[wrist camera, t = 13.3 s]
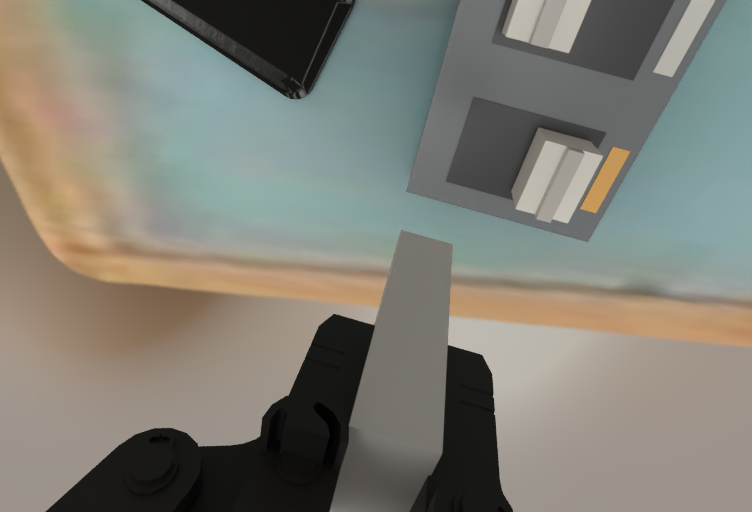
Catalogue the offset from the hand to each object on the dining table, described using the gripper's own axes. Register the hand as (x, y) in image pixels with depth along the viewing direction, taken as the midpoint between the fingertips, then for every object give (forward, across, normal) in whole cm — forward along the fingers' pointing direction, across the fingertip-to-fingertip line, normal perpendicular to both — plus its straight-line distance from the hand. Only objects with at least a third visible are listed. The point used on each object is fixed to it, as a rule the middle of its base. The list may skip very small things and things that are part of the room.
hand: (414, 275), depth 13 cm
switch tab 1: (+15, +3, +8) cm, 17 cm away
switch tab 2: (+15, +7, 0) cm, 16 cm away
